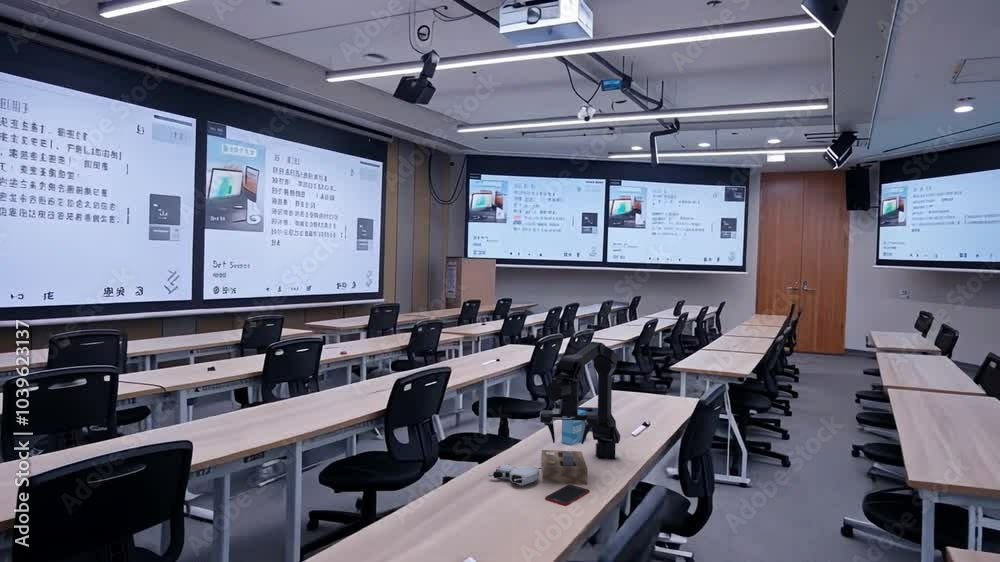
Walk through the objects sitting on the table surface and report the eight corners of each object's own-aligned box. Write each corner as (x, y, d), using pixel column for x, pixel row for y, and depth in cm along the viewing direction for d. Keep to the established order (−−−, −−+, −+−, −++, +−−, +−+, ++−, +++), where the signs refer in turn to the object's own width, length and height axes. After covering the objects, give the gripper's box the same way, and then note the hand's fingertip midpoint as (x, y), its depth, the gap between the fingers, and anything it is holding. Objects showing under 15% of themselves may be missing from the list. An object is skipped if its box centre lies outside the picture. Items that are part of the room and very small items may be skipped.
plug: (572, 477, 197) (572, 453, 197) (572, 480, 194) (573, 456, 194) (561, 476, 197) (562, 452, 197) (562, 480, 194) (563, 455, 194)
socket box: (581, 465, 209) (581, 450, 209) (587, 484, 191) (587, 467, 191) (541, 464, 209) (541, 449, 209) (543, 482, 191) (543, 466, 191)
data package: (571, 446, 231) (571, 415, 230) (561, 444, 234) (562, 413, 233) (586, 440, 240) (587, 410, 240) (576, 437, 243) (577, 408, 243)
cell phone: (590, 493, 185) (590, 489, 185) (565, 507, 173) (566, 504, 173) (569, 486, 189) (569, 483, 189) (543, 500, 178) (543, 497, 178)
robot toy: (486, 484, 192) (527, 491, 184) (485, 470, 192) (526, 476, 184) (506, 473, 202) (545, 479, 194) (505, 460, 202) (545, 465, 194)
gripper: (595, 391, 203) (593, 437, 203) (540, 389, 203) (538, 435, 204) (599, 399, 191) (597, 447, 192) (541, 396, 192) (539, 445, 192)
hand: (568, 443), depth 195 cm, fingers open, 9 cm apart
